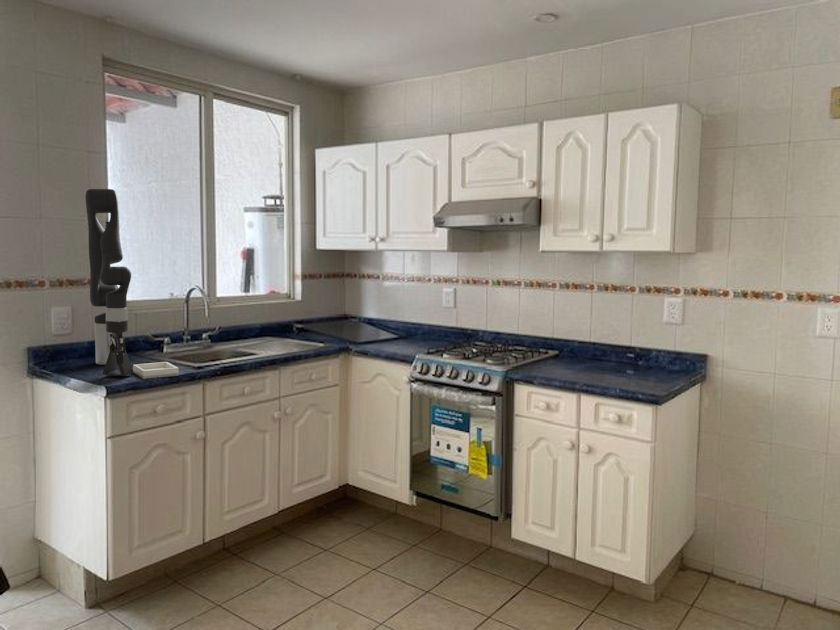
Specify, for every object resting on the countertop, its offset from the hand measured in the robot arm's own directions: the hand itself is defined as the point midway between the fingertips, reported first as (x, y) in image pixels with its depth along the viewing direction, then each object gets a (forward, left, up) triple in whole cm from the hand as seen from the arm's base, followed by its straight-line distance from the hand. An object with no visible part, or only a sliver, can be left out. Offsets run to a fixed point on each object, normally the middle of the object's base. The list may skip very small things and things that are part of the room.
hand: (117, 362), depth 244 cm
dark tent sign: (0, 0, -4) cm, 4 cm away
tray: (+2, +13, -5) cm, 15 cm away
